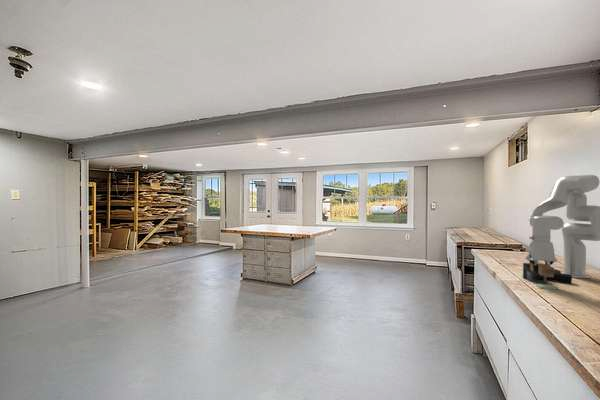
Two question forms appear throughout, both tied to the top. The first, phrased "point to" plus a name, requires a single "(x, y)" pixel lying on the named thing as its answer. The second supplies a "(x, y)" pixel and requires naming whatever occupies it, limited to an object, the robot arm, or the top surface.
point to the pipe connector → (560, 277)
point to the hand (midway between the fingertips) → (541, 272)
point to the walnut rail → (543, 269)
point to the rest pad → (547, 286)
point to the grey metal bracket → (532, 274)
